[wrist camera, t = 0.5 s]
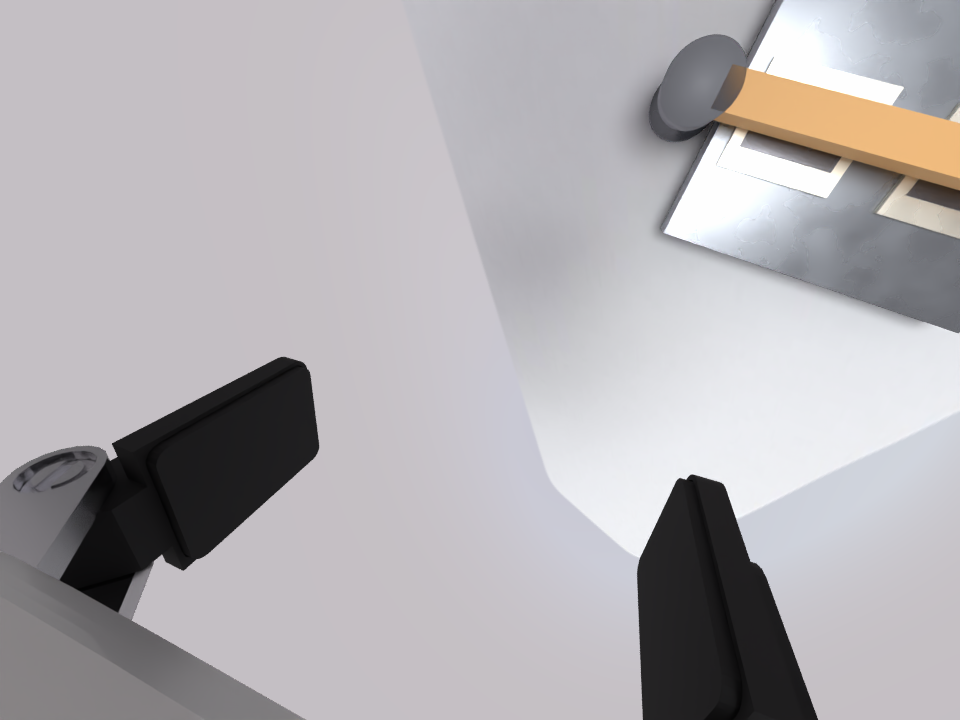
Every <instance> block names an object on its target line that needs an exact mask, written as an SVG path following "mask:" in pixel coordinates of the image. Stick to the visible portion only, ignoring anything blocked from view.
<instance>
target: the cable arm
mask: <svg viewBox="0 0 960 720" xmlns="http://www.w3.org/2000/svg"><path fill="white" fill-rule="evenodd" d="M658 110H659V114H660V116H661V118H662V120H663V121H664V122H665V123H666V124H667V125H668V126H669V127H671V128H672V129H675V130H679V131H691V130H695V129H698V128H701V127H703V126H705V125H706V124H708V123H709V122H711V121H712V120H715V121H718V122H722V123H725V124H729V125H732V126H736V127H739V128H743V129H746V130H750V131H753V132H757V133H760V134H764V135H767V136H771V137H774V138H778V139H781V140H785V141H788V142H792V143H795V144H799V145H802V146H806V147H809V148H813V149H816V150H820V151H823V152H827V153H830V154H834V155H837V156H841V157H844V158H848V159H851V160H855V161H858V162H862V163H865V164H869V165H872V166H876V167H879V168H883V169H886V170H890V171H893V172H897V173H900V174H904V175H907V176H911V177H914V178H918V179H921V180H925V181H928V182H932V183H935V184H939V185H942V186H946V187H949V188H953V189H956V190H960V123H957V122H953V121H949V120H946V119H942V118H938V117H934V116H930V115H926V114H922V113H919V112H915V111H911V110H907V109H903V108H899V107H896V106H892V105H888V104H884V103H880V102H876V101H872V100H869V99H865V98H861V97H857V96H853V95H849V94H846V93H842V92H838V91H834V90H830V89H826V88H822V87H819V86H815V85H811V84H807V83H803V82H799V81H796V80H792V79H788V78H784V77H780V76H776V75H773V74H769V73H765V72H761V71H757V70H753V69H749V68H747V61H746V56H745V53H744V51H743V49H742V47H741V46H740V45H739V43H738V42H736V41H735V40H734V39H732V38H730V37H728V36H725V35H708V36H704V37H701V38H699V39H697V40H695V41H693V42H691V43H690V44H689V45H687V46H686V47H685V48H684V49H682V50H681V51H680V52H679V54H678V55H677V56H676V57H675V58H674V60H673V61H672V63H671V64H670V66H669V68H668V70H667V72H666V74H665V77H664V79H663V82H662V84H661V87H660V90H659V94H658Z"/></svg>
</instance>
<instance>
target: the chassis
mask: <svg viewBox="0 0 960 720" xmlns="http://www.w3.org/2000/svg"><path fill="white" fill-rule="evenodd" d="M746 61H747V68H749V69H753V70H757V71H761V72H765V73H769V74H773V75H776V76H780V77H784V78H788V79H792V80H796V81H799V82H803V83H807V84H811V85H815V86H819V87H822V88H826V89H830V90H834V91H838V92H842V93H846V94H849V95H853V96H857V97H861V98H865V99H869V100H872V101H876V102H880V103H884V104H888V105H892V106H896V107H899V108H903V109H907V110H911V111H915V112H919V113H922V114H926V115H930V116H934V117H938V118H942V119H946V120H949V121H953V122H957V123H960V0H776V2H775V4H774V5H773V7H772V9H771V11H770V13H769V15H768V17H767V19H766V21H765V23H764V25H763V27H762V29H761V31H760V33H759V35H758V37H757V39H756V41H755V43H754V45H753V47H752V49H751V51H750V53H749V55H748V57H747V59H746ZM660 229H661V230H662V232H663V233H665V234H668V235H671V236H674V237H677V238H680V239H683V240H686V241H689V242H692V243H695V244H698V245H700V246H703V247H706V248H709V249H712V250H715V251H718V252H721V253H724V254H727V255H730V256H733V257H736V258H739V259H742V260H745V261H747V262H750V263H753V264H756V265H759V266H762V267H765V268H768V269H771V270H774V271H777V272H780V273H783V274H786V275H789V276H792V277H794V278H797V279H800V280H803V281H806V282H809V283H812V284H815V285H818V286H821V287H824V288H827V289H830V290H833V291H836V292H839V293H841V294H844V295H847V296H850V297H853V298H856V299H859V300H862V301H865V302H868V303H871V304H874V305H877V306H880V307H883V308H886V309H888V310H891V311H894V312H897V313H900V314H903V315H906V316H909V317H912V318H915V319H918V320H921V321H924V322H927V323H930V324H933V325H935V326H938V327H941V328H944V329H947V330H950V331H953V332H956V333H959V332H960V190H956V189H953V188H949V187H946V186H942V185H939V184H935V183H932V182H928V181H925V180H921V179H918V178H914V177H911V176H907V175H904V174H900V173H897V172H893V171H890V170H886V169H883V168H879V167H876V166H872V165H869V164H865V163H862V162H858V161H855V160H851V159H848V158H844V157H841V156H837V155H834V154H830V153H827V152H823V151H820V150H816V149H813V148H809V147H806V146H802V145H799V144H795V143H792V142H788V141H785V140H781V139H778V138H774V137H771V136H767V135H764V134H760V133H757V132H753V131H750V130H746V129H743V128H739V127H736V126H732V125H729V124H725V123H722V122H718V121H715V122H714V124H713V126H712V128H711V130H710V132H709V134H708V136H707V137H706V139H705V141H704V143H703V145H702V147H701V149H700V151H699V153H698V155H697V157H696V159H695V161H694V163H693V165H692V167H691V169H690V171H689V173H688V175H687V177H686V179H685V181H684V183H683V185H682V187H681V189H680V191H679V193H678V195H677V197H676V199H675V201H674V202H673V204H672V206H671V208H670V210H669V212H668V214H667V216H666V218H665V220H664V222H663V224H662V226H661V228H660Z"/></svg>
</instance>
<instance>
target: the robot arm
mask: <svg viewBox="0 0 960 720" xmlns="http://www.w3.org/2000/svg"><path fill="white" fill-rule="evenodd" d="M310 377H311V376H310V372H309V370H307V367H306V365H305V364H304V363H303V362H301V361H297V360H294V359H290V358H287V357H280V358H277V359H275V360H273V361H271V362H269V363H267V364H266V365H264V366H262V367H260V368H258V369H256V370H254V371H252V372H250V373H248V374H246V375H244V376H242V377H240V378H238V379H236V380H234V381H232V382H231V383H229V384H227V385H225V386H223V387H221V388H219V389H217V390H215V391H213V392H211V393H209V394H207V395H205V396H203V397H201V398H199V399H198V400H196V401H194V402H192V403H190V404H188V405H186V406H184V407H182V408H180V409H178V410H176V411H174V412H172V413H170V414H168V415H167V416H164V417H163V418H161V419H159V420H157V421H155V422H153V423H151V424H149V425H147V426H145V427H143V428H141V429H139V430H137V431H135V432H133V433H132V434H129V435H128V436H126V437H124V438H122V439H120V440H118V441H116V442H114V443H112V445H113V447H114V449H115V452H116V454H117V456H118V457H117V458H115V459H113V460H111V461H110V460H109V458H108V456H107V453H106V451H104V450H103V449H101V448H99V447H94V446H76V447H71V448H66V449H61V450H57V451H54V452H51V453H48V454H45V455H43V456H40V457H38V458H36V459H33V460H31V461H29V462H27V463H26V464H24V465H22V466H21V467H19V468H17V469H16V470H14V471H13V472H12V473H11V474H10V475H9V476H7V477H6V478H5V479H4V480H3V481H2V482H1V483H0V720H305V719H303V718H302V717H300V716H298V715H297V714H295V713H293V712H291V711H290V710H288V709H286V708H284V707H283V706H281V705H279V704H277V703H276V702H274V701H272V700H270V699H269V698H267V697H265V696H263V695H262V694H260V693H258V692H256V691H255V690H253V689H251V688H249V687H248V686H246V685H244V684H242V683H240V682H239V681H237V680H235V679H234V678H232V677H230V676H228V675H227V674H225V673H223V672H221V671H220V670H218V669H216V668H214V667H213V666H211V665H209V664H207V663H205V662H204V661H202V660H200V659H198V658H197V657H195V656H193V655H191V654H190V653H188V652H186V651H184V650H183V649H181V648H179V647H177V646H176V645H174V644H172V643H170V642H168V641H167V640H165V639H163V638H162V637H160V636H158V635H156V634H154V633H153V632H151V631H149V630H147V629H146V628H144V627H142V626H140V625H138V624H137V623H135V622H133V621H132V618H133V616H134V613H135V610H136V608H137V605H138V603H139V600H140V597H141V595H142V592H143V590H144V587H145V584H146V582H147V579H148V577H149V574H150V571H151V569H152V566H153V563H154V560H156V559H157V558H158V557H159V556H160V555H163V557H164V559H165V561H166V562H167V563H169V564H171V565H173V566H175V567H177V568H179V569H181V570H185V569H186V568H187V567H188V566H189V565H190V564H192V563H193V562H194V561H195V560H196V559H200V558H202V557H204V556H205V555H207V554H208V553H209V552H210V551H211V550H213V549H214V548H215V547H216V546H217V545H218V544H219V543H220V542H222V541H223V540H224V539H225V538H226V537H227V536H228V535H229V534H230V533H232V532H233V531H234V530H235V529H236V528H237V527H238V526H239V525H240V524H242V523H243V522H244V521H245V520H246V519H247V518H248V517H249V516H250V515H252V514H253V513H254V512H255V511H256V510H257V509H258V508H259V507H260V506H262V505H263V504H264V503H265V502H266V501H267V500H268V499H269V498H270V497H271V496H273V495H274V494H275V493H276V492H277V491H278V490H279V489H280V488H282V487H283V486H284V485H285V484H286V483H287V482H288V481H289V480H290V479H292V478H293V477H294V476H295V475H296V474H297V473H298V472H299V471H300V470H301V469H302V468H304V467H305V466H306V465H307V464H308V463H309V462H310V461H311V460H313V459H314V457H315V456H316V454H317V452H318V450H319V440H318V432H317V424H316V416H315V408H314V401H313V393H312V384H311V378H310ZM637 584H638V606H639V607H638V609H639V633H640V659H641V682H642V709H643V720H818V718H817V715H816V713H815V710H814V707H813V704H812V702H811V699H810V696H809V693H808V691H807V688H806V685H805V683H804V680H803V677H802V674H801V672H800V669H799V666H798V663H797V661H796V658H795V655H794V652H793V650H792V647H791V644H790V642H789V639H788V636H787V633H786V631H785V628H784V625H783V622H782V620H781V617H780V614H779V611H778V609H777V606H776V604H775V600H774V598H773V595H772V592H771V589H770V587H769V584H768V581H767V578H766V576H765V574H764V572H763V570H762V569H761V568H760V567H759V566H758V565H757V564H756V563H753V562H750V559H749V556H748V553H747V550H746V547H745V544H744V541H743V538H742V535H741V532H740V530H739V527H738V524H737V521H736V518H735V515H734V512H733V509H732V506H731V503H730V500H729V497H728V494H727V491H726V488H725V486H724V484H722V483H720V482H717V481H714V480H710V479H707V478H703V477H700V476H696V475H690V476H689V477H688V478H687V480H685V479H682V478H679V479H678V480H677V481H676V483H675V485H674V487H673V489H672V492H671V494H670V496H669V498H668V500H667V502H666V504H665V506H664V509H663V511H662V513H661V515H660V517H659V519H658V521H657V523H656V526H655V528H654V530H653V532H652V534H651V536H650V538H649V540H648V542H647V545H646V547H645V549H644V551H643V553H642V555H641V557H640V560H639V564H638V571H637Z"/></svg>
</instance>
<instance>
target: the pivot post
mask: <svg viewBox="0 0 960 720" xmlns="http://www.w3.org/2000/svg"><path fill="white" fill-rule="evenodd" d="M660 87H661V85H660V86H659V87H658V89H657V91H656V92H655V94H654V96H653V99H652V102H651V105H650V110H649V120H650V125H651V127H652V129H653V131H654V132H655V134H656V135H657V136H658V137H660V138H661V139H663V140H666V141H669V142H680V141H684V140H687V139H689V138H692V137H693V136H695V135H697V134H698V133H699V132H701V131H702V130H703V129H704V128H705V127H706V126H707V125H708V124H709V123H708V124H706V125H705V126H703V127H701V128H698V129H695V130H691V131H679V130H675V129H672V128H671V127H669V126H668V125H667V124H666V123H665V122H664V121H663V120H662V118H661V116H660V114H659V110H658V94H659V90H660Z"/></svg>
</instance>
